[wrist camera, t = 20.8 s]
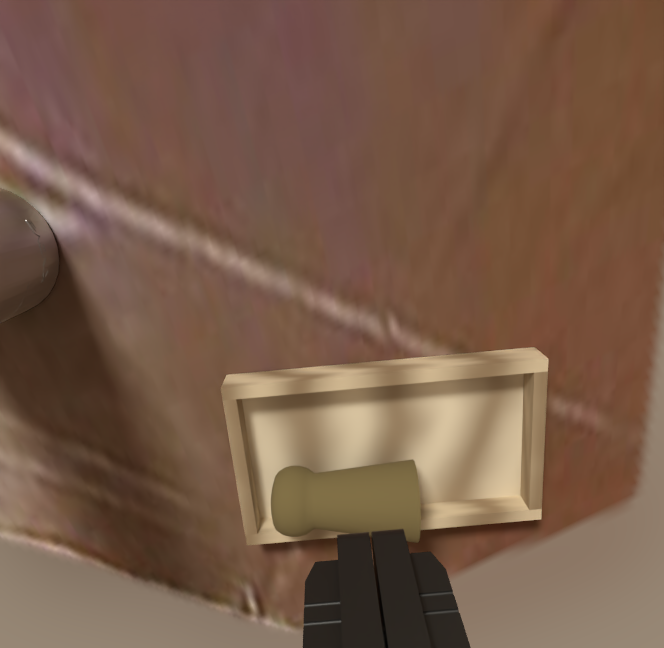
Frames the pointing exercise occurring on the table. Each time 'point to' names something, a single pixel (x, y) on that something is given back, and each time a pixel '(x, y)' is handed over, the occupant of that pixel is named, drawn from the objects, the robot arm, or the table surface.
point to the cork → (348, 500)
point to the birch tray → (397, 432)
